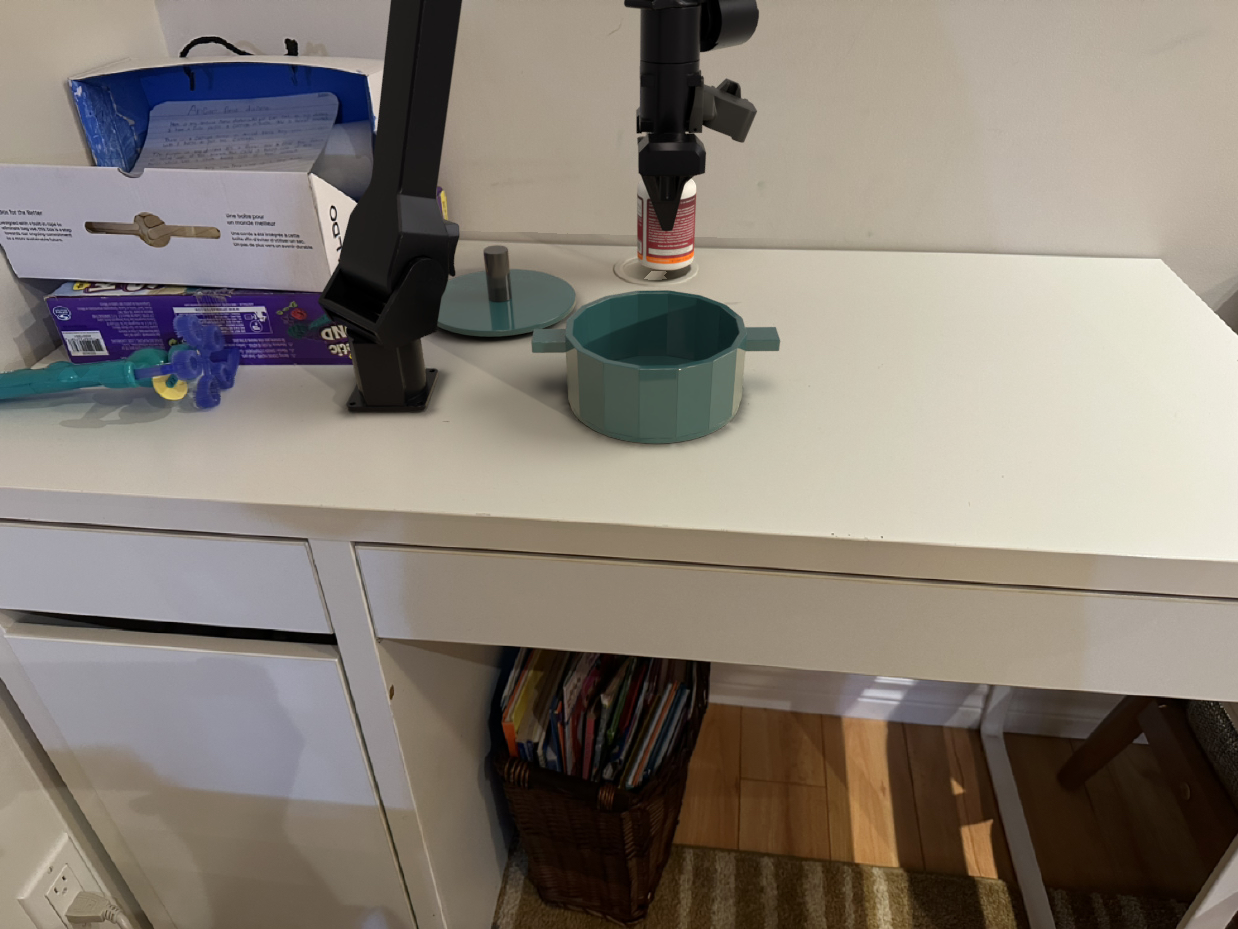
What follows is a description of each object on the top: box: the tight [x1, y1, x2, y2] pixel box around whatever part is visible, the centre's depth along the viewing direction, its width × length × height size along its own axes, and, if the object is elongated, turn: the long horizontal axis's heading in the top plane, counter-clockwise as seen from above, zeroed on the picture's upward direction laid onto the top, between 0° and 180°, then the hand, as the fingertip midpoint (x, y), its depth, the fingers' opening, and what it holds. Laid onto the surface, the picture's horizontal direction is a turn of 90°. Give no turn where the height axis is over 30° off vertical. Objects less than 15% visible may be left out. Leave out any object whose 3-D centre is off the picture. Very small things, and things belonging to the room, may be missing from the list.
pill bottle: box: [636, 178, 697, 271], centre depth 89 cm, size 6×6×11 cm
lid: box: [437, 244, 577, 337], centre depth 84 cm, size 15×15×6 cm
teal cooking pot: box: [530, 289, 781, 445], centre depth 69 cm, size 14×20×6 cm
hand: (665, 220), depth 89 cm, fingers closed on pill bottle, 6 cm apart
